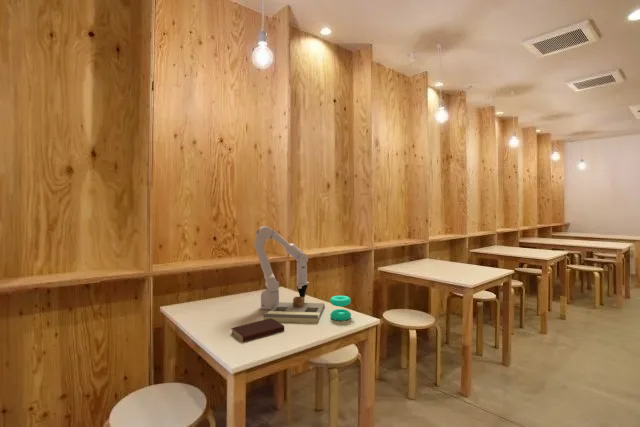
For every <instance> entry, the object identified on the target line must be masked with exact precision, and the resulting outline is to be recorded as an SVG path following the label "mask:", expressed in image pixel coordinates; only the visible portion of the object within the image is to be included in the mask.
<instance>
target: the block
mask: <svg viewBox="0 0 640 427" xmlns="http://www.w3.org/2000/svg"><path fill="white" fill-rule="evenodd" d="M292 303H293V307H303V306H304V303H305V298H304V297H300V296H294V297H293V299H292Z"/></svg>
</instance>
